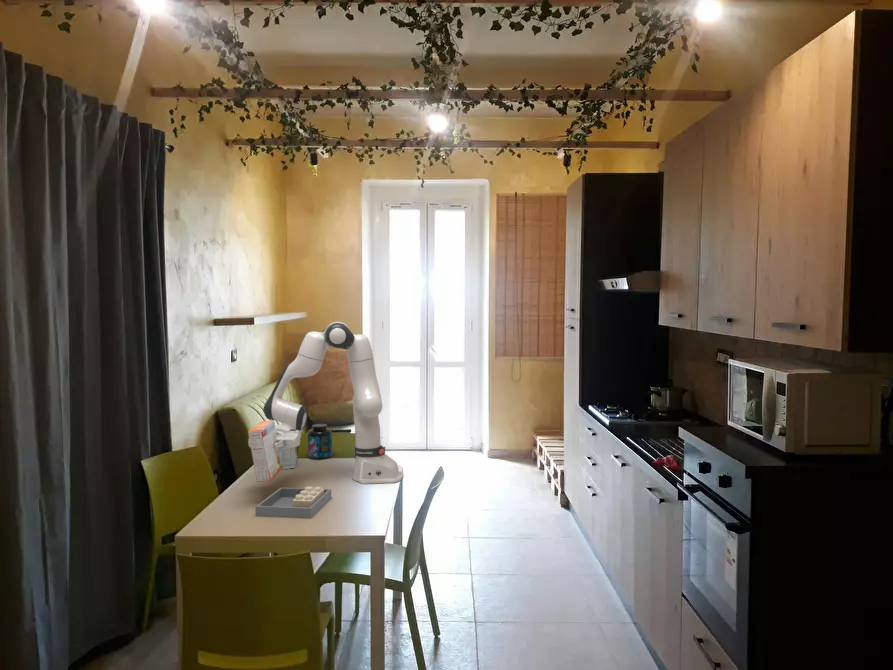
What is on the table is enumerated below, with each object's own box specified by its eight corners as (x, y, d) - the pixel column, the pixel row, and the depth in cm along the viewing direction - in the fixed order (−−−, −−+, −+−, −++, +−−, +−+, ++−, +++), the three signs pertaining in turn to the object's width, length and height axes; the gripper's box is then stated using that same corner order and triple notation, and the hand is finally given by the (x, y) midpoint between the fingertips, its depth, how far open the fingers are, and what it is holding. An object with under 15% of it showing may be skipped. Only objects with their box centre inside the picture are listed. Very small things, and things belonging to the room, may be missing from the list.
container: (303, 457, 299) (302, 426, 298) (321, 452, 308) (320, 422, 307) (319, 461, 292) (318, 428, 291) (337, 456, 301) (336, 424, 300)
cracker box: (268, 470, 243) (260, 420, 241) (283, 469, 242) (275, 419, 240) (255, 483, 229) (246, 430, 227) (270, 481, 229) (262, 428, 226)
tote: (331, 500, 234) (331, 489, 233) (311, 521, 212) (310, 508, 212) (280, 498, 237) (280, 487, 236) (255, 518, 215) (255, 506, 215)
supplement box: (295, 468, 279) (294, 430, 278) (266, 470, 276) (265, 432, 275) (297, 459, 296) (296, 423, 295) (269, 461, 293) (268, 424, 292)
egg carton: (324, 501, 230) (323, 485, 230) (311, 514, 216) (310, 497, 216) (307, 500, 231) (306, 485, 231) (292, 513, 217) (292, 497, 217)
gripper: (256, 430, 250) (240, 438, 237) (302, 430, 247) (289, 438, 234) (257, 445, 251) (241, 454, 237) (303, 445, 248) (290, 454, 234)
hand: (265, 446), depth 235 cm, fingers closed on cracker box, 6 cm apart
